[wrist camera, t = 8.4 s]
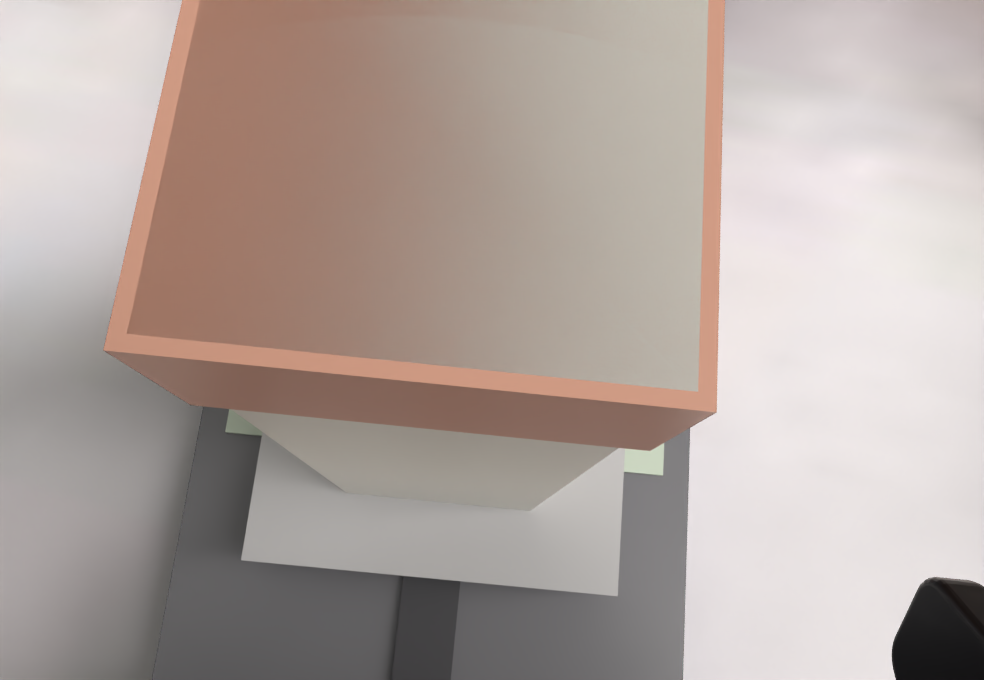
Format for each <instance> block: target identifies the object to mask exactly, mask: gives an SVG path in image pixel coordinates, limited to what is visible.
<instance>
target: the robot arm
mask: <svg viewBox="0 0 984 680" xmlns="http://www.w3.org/2000/svg"><path fill="white" fill-rule="evenodd" d="M892 664H893V670H894V674H895V678H896V680H984V587H983V586H982V585H980V584H978V583H976V582H973V581H969V580H960V579H950V578H940V577H933V578H928V579H927V580H925V581H924V582H923V583H922V584H921V585H920V586H919V588H918V590H917V592H916V594H915V596H914V598H913V600H912V603H911V605H910V607H909V609H908V611H907V613H906V615H905V617H904V619H903V622H902V624H901V626H900V628H899V630H898V632H897V634H896V636H895V639H894V642H893V647H892Z"/></svg>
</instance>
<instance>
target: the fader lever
mask: <svg viewBox="0 0 984 680" xmlns="http://www.w3.org/2000/svg"><path fill="white" fill-rule="evenodd" d="M724 14H725V0H182V4H181V9H180V13H179V17H178V22H177V26H176V31H175V35H174V40H173V44H172V48H171V53H170V57H169V62H168V66H167V71H166V75H165V79H164V84H163V88H162V93H161V97H160V102H159V106H158V110H157V115H156V119H155V124H154V128H153V132H152V137H151V141H150V146H149V150H148V155H147V159H146V163H145V168H144V172H143V177H142V181H141V186H140V190H139V194H138V199H137V203H136V208H135V212H134V217H133V221H132V225H131V230H130V234H129V239H128V243H127V248H126V252H125V256H124V261H123V265H122V270H121V274H120V278H119V283H118V287H117V292H116V296H115V301H114V305H113V309H112V314H111V318H110V323H109V327H108V332H107V336H106V340H105V345H104V349H103V350H104V351H105V352H107V353H108V354H110V355H111V356H113V357H115V358H116V359H118V360H119V361H121V362H123V363H124V364H126V365H127V366H129V367H131V368H132V369H134V370H135V371H137V372H139V373H140V374H142V375H143V376H145V377H147V378H148V379H150V380H151V381H153V382H155V383H156V384H158V385H159V386H161V387H163V388H164V389H166V390H167V391H169V392H170V393H172V394H174V395H175V396H177V397H178V398H180V399H182V400H183V401H185V402H186V403H188V404H190V405H194V406H204V407H214V408H224V409H231V410H233V411H234V412H236V413H237V414H238V415H240V416H241V417H242V418H244V419H245V420H247V421H248V422H249V423H251V424H252V425H253V426H255V427H256V428H258V429H259V430H260V431H262V438H261V444H260V450H259V456H258V462H257V468H256V474H255V480H254V486H253V492H252V497H251V503H250V509H249V515H248V521H247V527H246V533H245V539H244V545H243V551H242V557H241V560H244V561H255V562H265V563H275V564H286V565H296V566H307V567H317V568H328V569H338V570H349V571H359V572H369V573H380V574H390V575H401V576H411V577H422V578H432V579H443V580H453V581H463V582H474V583H484V584H495V585H505V586H516V587H526V588H537V589H547V590H557V591H568V592H578V593H589V594H599V595H610V596H618V579H619V559H620V539H621V519H622V499H623V479H624V458H625V449H635V450H645V451H651V450H653V449H654V448H656V447H658V446H660V445H661V444H663V443H665V442H666V441H668V440H670V439H672V438H673V437H675V436H677V435H678V434H680V433H682V432H684V431H685V430H687V429H689V428H690V427H692V426H694V425H696V424H697V423H699V422H701V421H702V420H704V419H706V418H708V417H709V416H711V415H713V414H714V413H716V412H717V363H718V313H719V263H720V214H721V164H722V114H723V64H724Z"/></svg>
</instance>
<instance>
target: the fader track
mask: <svg viewBox="0 0 984 680" xmlns="http://www.w3.org/2000/svg"><path fill="white" fill-rule="evenodd" d="M261 438H262V431H260V430H259V429H258V428H256V427H255V426H253V425H252V424H251V423H249V422H248V421H247V420H245V419H244V418H242V417H241V416H240V415H238V414H237V413H236V412H234V411H233V410H231V409H224V408H214V407H204V406H203V412H202V417H201V422H200V428H199V433H198V438H197V443H196V449H195V454H194V459H193V465H192V470H191V475H190V480H189V486H188V491H187V496H186V502H185V507H184V512H183V518H182V523H181V528H180V533H179V539H178V544H177V549H176V555H175V560H174V565H173V570H172V576H171V581H170V586H169V592H168V597H167V602H166V608H165V613H164V618H163V623H162V629H161V634H160V639H159V645H158V650H157V655H156V660H155V666H154V671H153V676H152V680H683V656H684V621H685V586H686V551H687V516H688V481H689V446H690V428H689V429H687V430H685V431H684V432H682V433H680V434H678V435H677V436H675V437H673V438H672V439H670V440H668V441H666V442H665V443H663V444H661V445H660V446H658V447H656V448H654V449H653V450H651V451H645V450H635V449H625V458H624V479H623V499H622V519H621V539H620V559H619V579H618V596H610V595H599V594H589V593H578V592H568V591H557V590H547V589H537V588H526V587H516V586H505V585H495V584H484V583H474V582H463V581H453V580H443V579H432V578H422V577H411V576H401V575H390V574H380V573H369V572H359V571H349V570H338V569H328V568H317V567H307V566H296V565H286V564H275V563H265V562H255V561H244V560H241V557H242V551H243V545H244V539H245V533H246V527H247V521H248V515H249V509H250V503H251V497H252V492H253V486H254V480H255V474H256V468H257V462H258V456H259V450H260V444H261Z"/></svg>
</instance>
